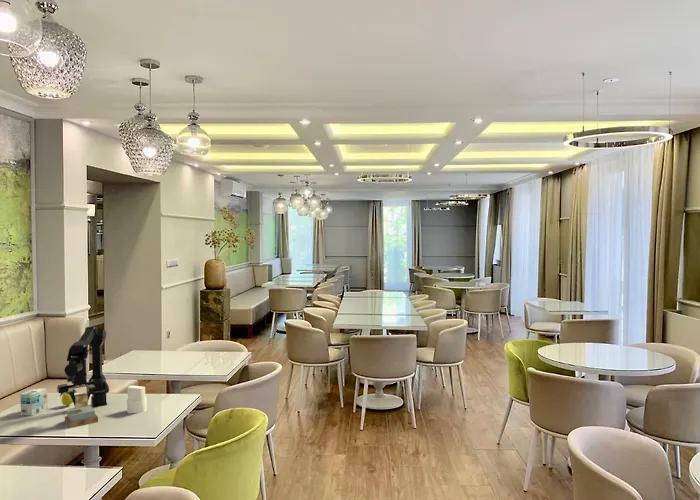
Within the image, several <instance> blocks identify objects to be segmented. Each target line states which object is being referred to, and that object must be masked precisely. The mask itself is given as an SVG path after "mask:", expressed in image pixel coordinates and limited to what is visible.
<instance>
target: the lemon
mask: <svg viewBox="0 0 700 500" xmlns="http://www.w3.org/2000/svg"><path fill="white" fill-rule="evenodd" d="M73 391H74V394H77V389H76V388H74V389H73ZM59 397H61V404H63V405H64V406H66V407H69V406H71V405H72V404H73V401H72V399H71V396H70V395H69V394H67V393H66V392H65V393H59Z"/></svg>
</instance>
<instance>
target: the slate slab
mask: <svg viewBox="0 0 700 500" xmlns="http://www.w3.org/2000/svg"><path fill="white" fill-rule="evenodd" d="M66 411H67V416H68V418H69V419H70V421H71V422H74V421H79V420H83V419H88V418H93V417H95V414H96V411H95V409H94V408H93V406H92V405H88V406H84V407H79V408H76V407H75V408H72V409H68V410H66Z"/></svg>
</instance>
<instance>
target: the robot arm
mask: <svg viewBox="0 0 700 500" xmlns="http://www.w3.org/2000/svg"><path fill="white" fill-rule="evenodd" d="M106 338H107V332H106V330H104V328H100V327H98V326H87V327H85V330H84V332H83V333H82V335H81V336H80V338H79V340H78V341H76V342H73V344H72V345H70V347H69V349H68V354H67V356H66V357H67V358H66V362H68V364H67V365H66V366H65V367H64V374H65V375H66V383H61V384H58V385H57V386H56V392H57V393H58V394H61V393H65V392H66V393H67V394H69V395H70V396H71V399H72V401H73V403H72V404H73V406H74V405H75V395H76V394H75V393H74V391H73V389H80V388H85V387H86V392H85V393H86V394H87V395H88V401H89V400H90V406H92V407H94V408H96V407H97V408H98V407H101V406H107V405H108V403H107V394H108V393H110V386H109V384H108V383H107V378H106V376H105V375H104V373H103V344H104V343H105V342H106ZM89 345H90V346H91V363H92V364H91V367H92V373H91V374H92V375H91V377H90V378H89V379H88V378H87V374H88V373H87V358H88V356H89V353H90V348H89ZM87 380H88V381H87ZM67 383H71V384H69V385H68V384H67Z"/></svg>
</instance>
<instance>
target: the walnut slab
mask: <svg viewBox="0 0 700 500" xmlns="http://www.w3.org/2000/svg"><path fill="white" fill-rule="evenodd" d="M98 422H99V417H98V415H97V414H96V413H95V417H93V418H88V419H83V420H79V421H74V422H71V421H70V419H69V418H68V415H66V416H65V415H64V423H66V425H67V427H68V428H69V429H72V428H76V427H81V426H86V425H90V424H94V423H98Z"/></svg>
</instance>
